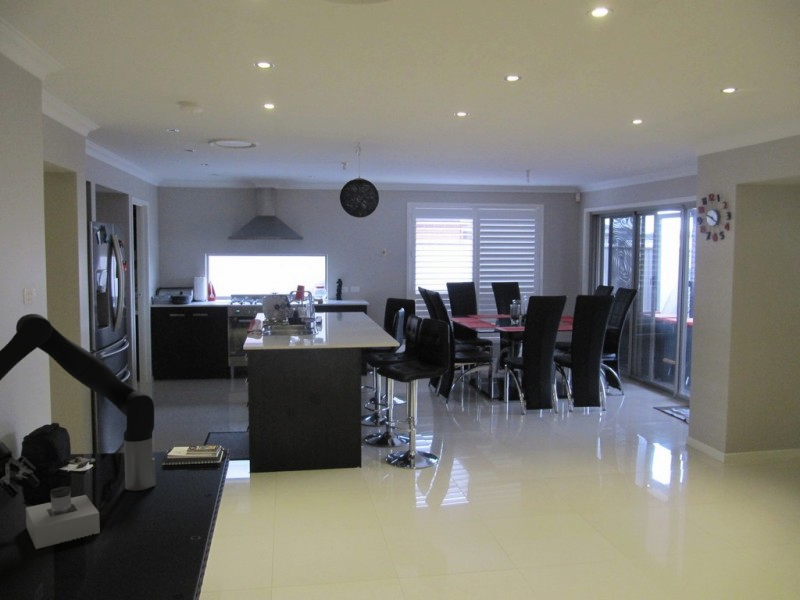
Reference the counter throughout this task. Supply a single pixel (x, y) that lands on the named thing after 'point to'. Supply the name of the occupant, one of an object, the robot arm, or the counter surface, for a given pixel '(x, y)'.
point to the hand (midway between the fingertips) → (27, 490)
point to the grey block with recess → (62, 522)
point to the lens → (60, 500)
